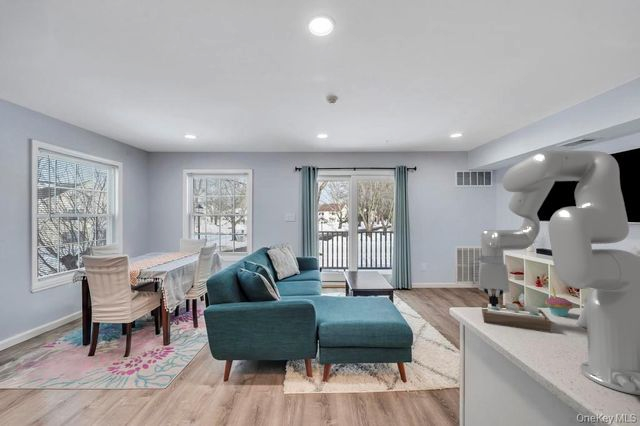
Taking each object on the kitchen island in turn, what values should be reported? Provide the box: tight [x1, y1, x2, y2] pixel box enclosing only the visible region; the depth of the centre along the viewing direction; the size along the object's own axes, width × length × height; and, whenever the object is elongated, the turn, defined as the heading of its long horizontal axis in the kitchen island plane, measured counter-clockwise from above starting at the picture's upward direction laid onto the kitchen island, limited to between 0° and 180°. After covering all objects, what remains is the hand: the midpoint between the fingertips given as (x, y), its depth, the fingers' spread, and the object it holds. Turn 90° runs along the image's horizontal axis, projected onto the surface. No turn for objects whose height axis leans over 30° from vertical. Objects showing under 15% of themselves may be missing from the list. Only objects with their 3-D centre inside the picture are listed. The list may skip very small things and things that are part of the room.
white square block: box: [488, 303, 500, 308], centre depth 109 cm, size 4×4×3 cm
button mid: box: [504, 302, 520, 311], centre depth 106 cm, size 4×4×3 cm
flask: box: [576, 298, 587, 329], centre depth 99 cm, size 7×7×10 cm
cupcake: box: [545, 285, 574, 317], centre depth 112 cm, size 9×8×12 cm
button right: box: [523, 304, 539, 313], centre depth 103 cm, size 4×4×3 cm
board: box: [481, 302, 552, 333], centre depth 105 cm, size 14×20×5 cm
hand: (493, 305), depth 109 cm, fingers closed
